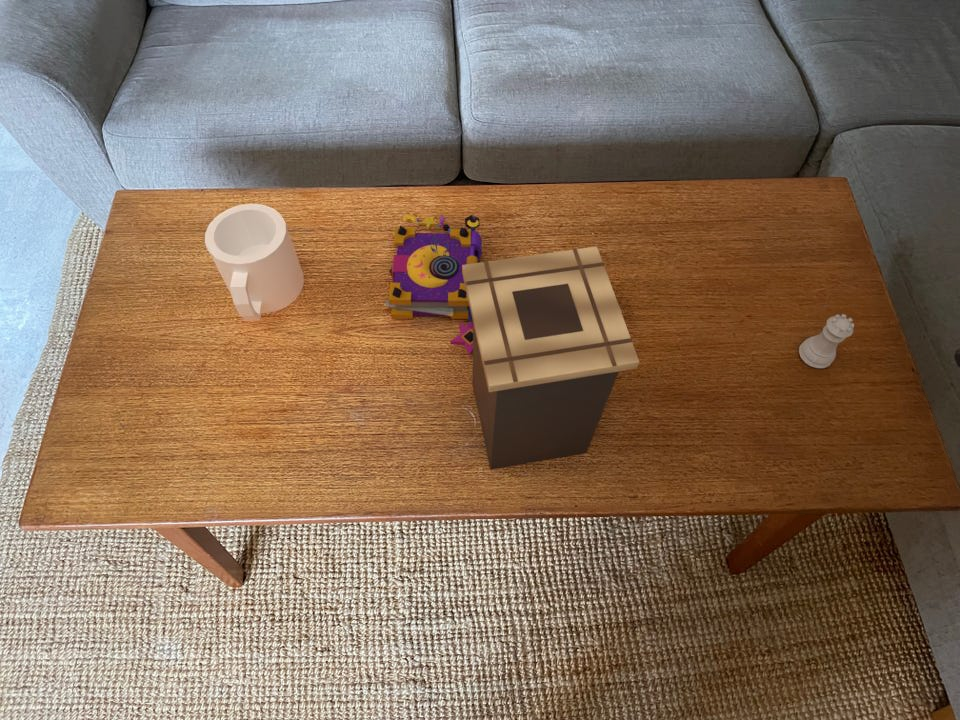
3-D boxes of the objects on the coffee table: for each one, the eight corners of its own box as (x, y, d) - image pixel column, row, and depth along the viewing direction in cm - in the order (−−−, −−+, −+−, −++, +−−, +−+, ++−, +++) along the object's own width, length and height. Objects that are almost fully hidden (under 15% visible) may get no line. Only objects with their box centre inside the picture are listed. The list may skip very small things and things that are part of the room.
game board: (636, 368, 60) (640, 361, 59) (488, 392, 59) (489, 385, 57) (595, 253, 67) (597, 245, 66) (462, 272, 66) (462, 264, 64)
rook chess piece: (825, 375, 86) (856, 343, 79) (792, 360, 87) (820, 326, 80) (835, 351, 88) (866, 317, 81) (803, 336, 89) (831, 302, 82)
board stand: (586, 453, 79) (623, 361, 60) (490, 469, 78) (497, 381, 59) (561, 369, 85) (588, 262, 67) (472, 383, 84) (473, 278, 65)
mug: (297, 332, 88) (277, 284, 79) (221, 334, 87) (192, 286, 78) (307, 255, 95) (290, 202, 85) (236, 256, 94) (212, 204, 85)
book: (489, 223, 98) (492, 161, 88) (489, 365, 86) (492, 312, 75) (393, 221, 98) (384, 159, 88) (378, 363, 85) (366, 310, 75)
